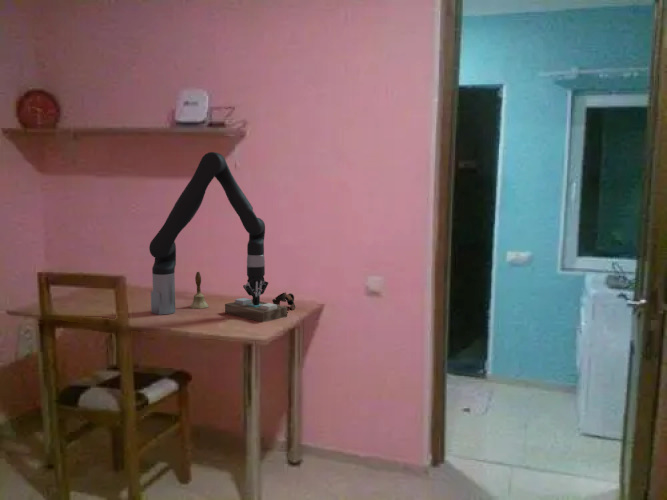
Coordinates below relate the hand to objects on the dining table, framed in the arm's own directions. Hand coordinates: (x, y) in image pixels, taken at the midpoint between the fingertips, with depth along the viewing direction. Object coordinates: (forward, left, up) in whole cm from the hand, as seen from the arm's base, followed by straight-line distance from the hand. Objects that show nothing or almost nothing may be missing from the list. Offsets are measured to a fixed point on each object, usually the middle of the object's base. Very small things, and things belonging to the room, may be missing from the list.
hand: (256, 304), depth 263 cm
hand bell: (-7, +30, -5) cm, 31 cm away
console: (0, 0, -4) cm, 4 cm away
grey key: (0, +8, -1) cm, 8 cm away
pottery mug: (+18, 0, -5) cm, 18 cm away
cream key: (0, -8, -1) cm, 8 cm away
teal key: (0, 0, -2) cm, 2 cm away
